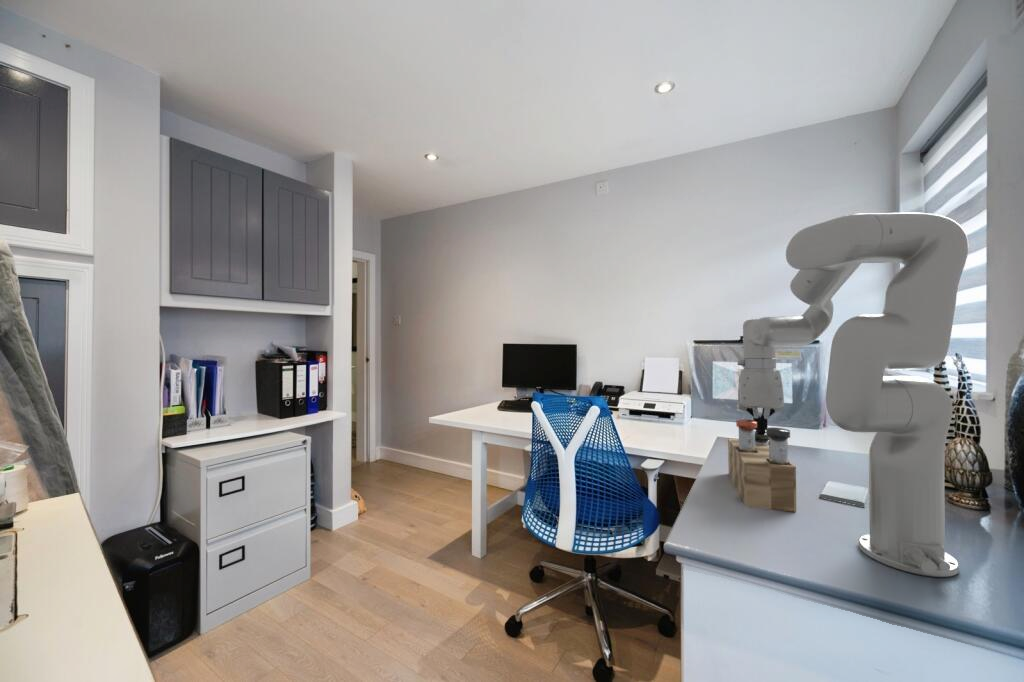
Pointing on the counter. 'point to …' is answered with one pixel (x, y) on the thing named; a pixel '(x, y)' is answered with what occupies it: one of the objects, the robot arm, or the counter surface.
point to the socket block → (762, 478)
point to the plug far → (761, 439)
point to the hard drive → (845, 493)
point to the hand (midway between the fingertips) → (760, 432)
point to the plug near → (778, 445)
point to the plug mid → (746, 435)
